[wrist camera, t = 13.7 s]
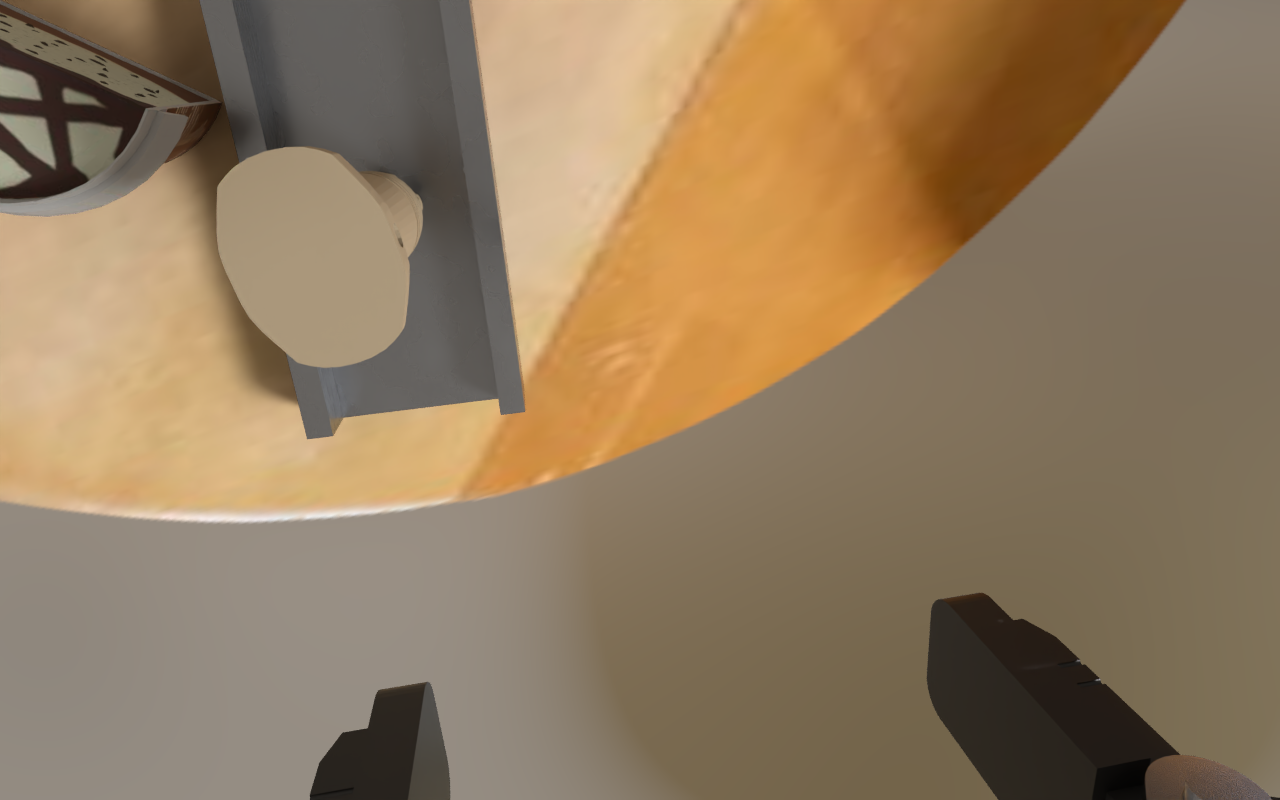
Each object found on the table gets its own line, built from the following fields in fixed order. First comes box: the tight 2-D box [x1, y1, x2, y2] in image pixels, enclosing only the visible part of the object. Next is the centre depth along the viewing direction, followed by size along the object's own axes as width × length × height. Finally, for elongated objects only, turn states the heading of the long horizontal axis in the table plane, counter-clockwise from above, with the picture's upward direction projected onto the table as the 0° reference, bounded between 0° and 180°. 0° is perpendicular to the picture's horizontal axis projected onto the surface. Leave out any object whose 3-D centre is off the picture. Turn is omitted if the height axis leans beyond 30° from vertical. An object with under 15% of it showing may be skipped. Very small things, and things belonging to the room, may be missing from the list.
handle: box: [217, 146, 423, 368], centre depth 30 cm, size 5×6×15 cm
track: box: [199, 0, 525, 439], centre depth 36 cm, size 20×10×4 cm, turn 4°
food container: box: [0, 0, 222, 217], centre depth 30 cm, size 12×6×10 cm, turn 64°
